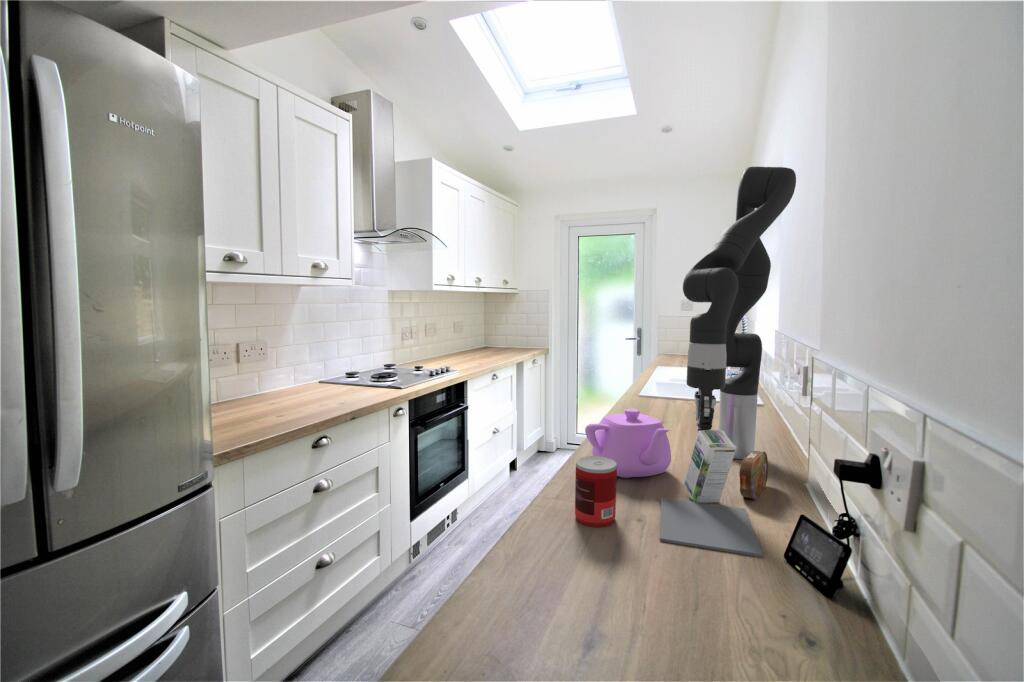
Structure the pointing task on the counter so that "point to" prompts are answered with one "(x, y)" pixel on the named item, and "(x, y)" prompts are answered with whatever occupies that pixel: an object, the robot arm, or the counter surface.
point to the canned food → (595, 491)
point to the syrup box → (709, 466)
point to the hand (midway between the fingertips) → (702, 445)
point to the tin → (753, 474)
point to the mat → (708, 526)
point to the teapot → (631, 443)
